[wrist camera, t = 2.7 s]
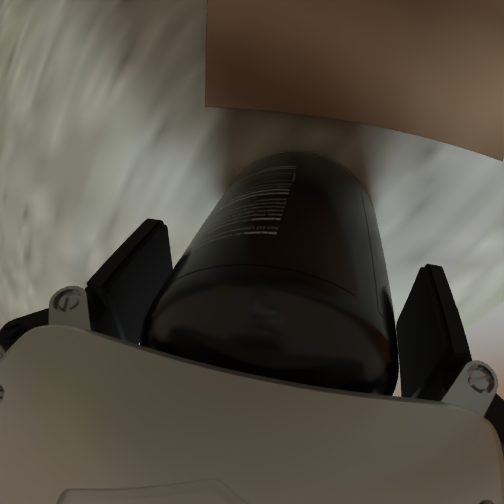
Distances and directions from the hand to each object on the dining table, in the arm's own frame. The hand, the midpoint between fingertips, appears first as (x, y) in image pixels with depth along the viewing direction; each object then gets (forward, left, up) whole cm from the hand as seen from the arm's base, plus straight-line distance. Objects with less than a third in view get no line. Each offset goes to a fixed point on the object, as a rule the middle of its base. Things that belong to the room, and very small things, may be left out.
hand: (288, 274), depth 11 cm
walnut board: (-12, +2, -4) cm, 13 cm away
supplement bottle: (0, 0, -4) cm, 4 cm away
